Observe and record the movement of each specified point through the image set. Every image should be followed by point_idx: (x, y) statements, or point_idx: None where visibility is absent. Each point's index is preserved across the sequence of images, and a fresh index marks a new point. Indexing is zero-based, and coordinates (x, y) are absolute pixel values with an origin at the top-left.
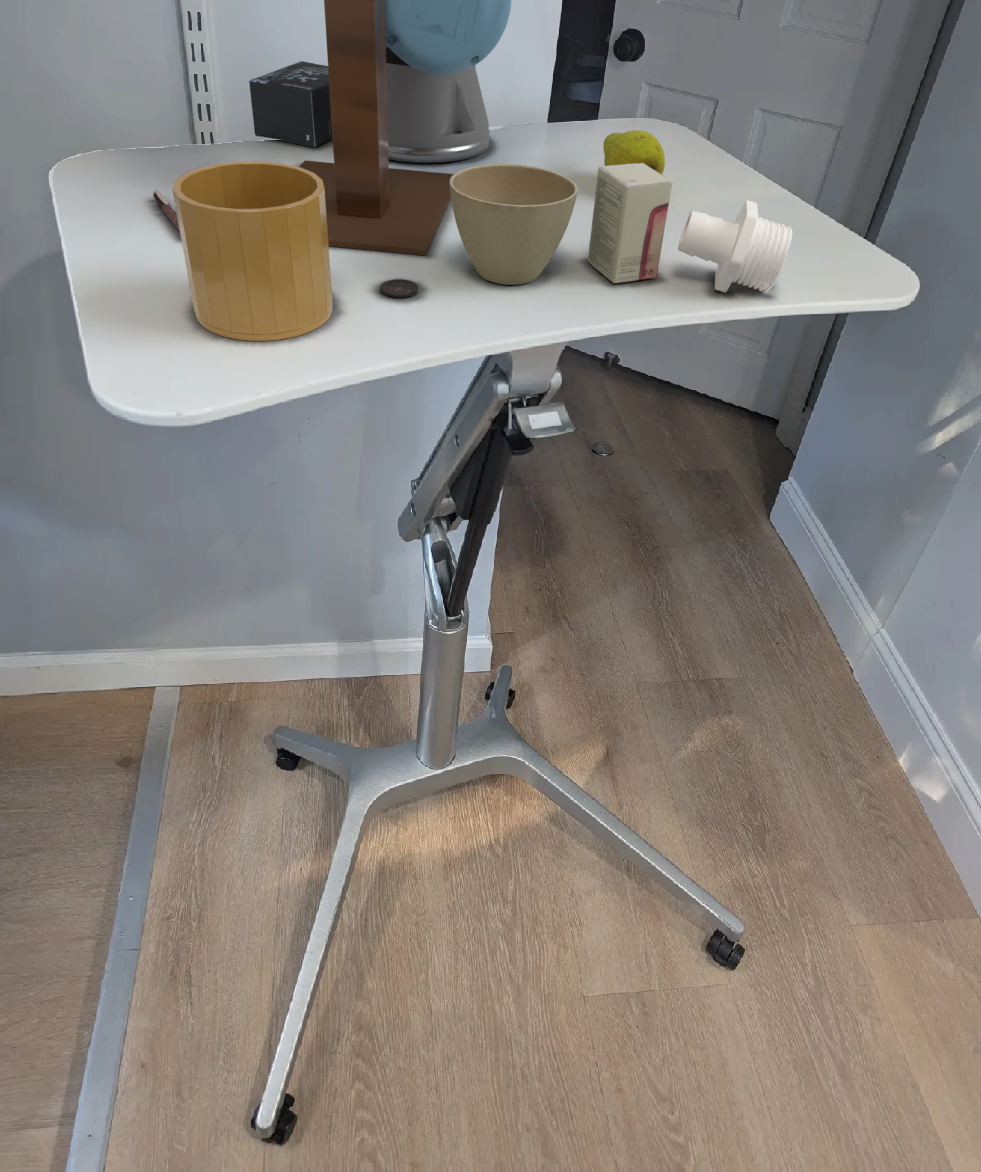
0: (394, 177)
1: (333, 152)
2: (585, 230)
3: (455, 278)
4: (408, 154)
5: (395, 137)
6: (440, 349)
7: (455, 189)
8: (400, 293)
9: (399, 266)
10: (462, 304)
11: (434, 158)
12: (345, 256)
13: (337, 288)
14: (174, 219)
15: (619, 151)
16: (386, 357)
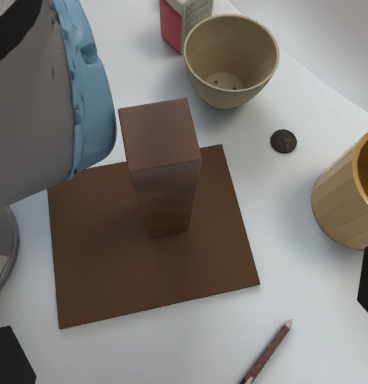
0: (76, 224)
1: (189, 218)
2: (124, 67)
3: (246, 118)
4: (15, 232)
5: (6, 243)
6: (338, 96)
7: (266, 79)
8: (292, 136)
9: (246, 155)
10: (279, 103)
11: (10, 210)
12: (250, 195)
13: (300, 178)
14: (273, 350)
15: None
16: (364, 118)
